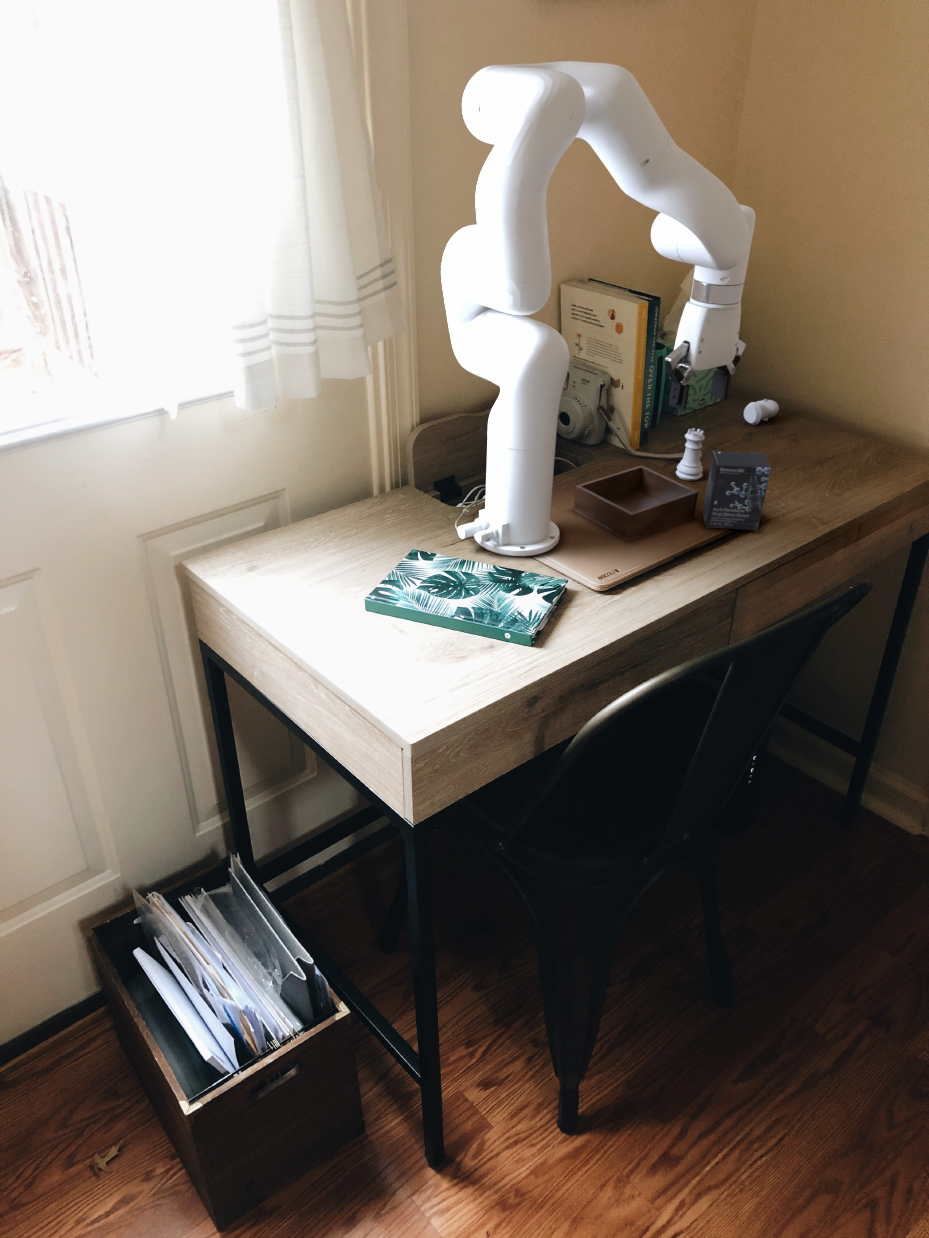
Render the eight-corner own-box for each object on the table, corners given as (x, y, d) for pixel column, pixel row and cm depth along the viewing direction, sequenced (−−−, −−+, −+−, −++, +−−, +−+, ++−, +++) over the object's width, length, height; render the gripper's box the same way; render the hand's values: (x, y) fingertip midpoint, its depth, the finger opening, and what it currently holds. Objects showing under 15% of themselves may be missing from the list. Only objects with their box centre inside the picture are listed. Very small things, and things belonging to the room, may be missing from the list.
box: (705, 529, 145) (717, 464, 139) (701, 512, 149) (712, 449, 144) (758, 532, 144) (772, 467, 138) (752, 515, 149) (765, 451, 143)
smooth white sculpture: (761, 418, 188) (783, 418, 184) (734, 426, 184) (757, 426, 180) (760, 396, 187) (782, 395, 183) (733, 403, 183) (755, 403, 179)
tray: (628, 541, 141) (631, 515, 139) (573, 510, 149) (575, 485, 147) (694, 517, 148) (698, 491, 146) (638, 489, 156) (641, 465, 154)
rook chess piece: (686, 468, 164) (693, 424, 159) (707, 477, 161) (715, 432, 157) (669, 475, 161) (676, 430, 157) (690, 484, 158) (697, 438, 154)
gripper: (735, 281, 152) (716, 387, 161) (658, 293, 143) (643, 404, 152) (773, 291, 147) (751, 400, 156) (696, 304, 138) (678, 418, 147)
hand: (698, 402), depth 154 cm, fingers open, 9 cm apart
